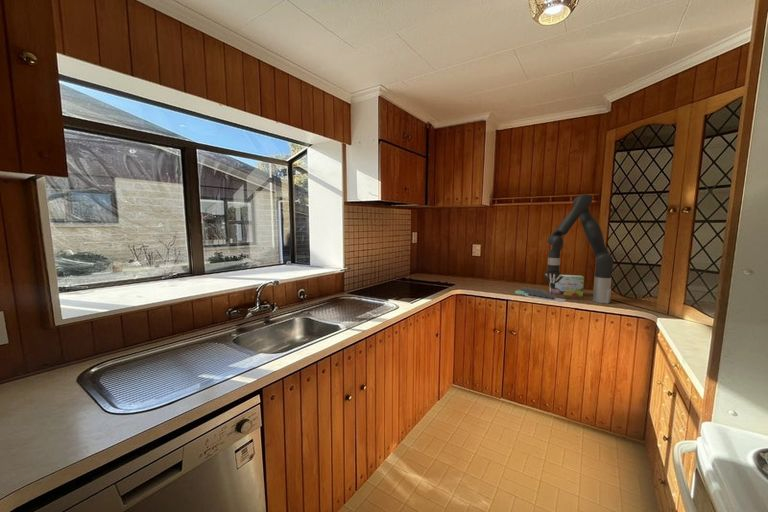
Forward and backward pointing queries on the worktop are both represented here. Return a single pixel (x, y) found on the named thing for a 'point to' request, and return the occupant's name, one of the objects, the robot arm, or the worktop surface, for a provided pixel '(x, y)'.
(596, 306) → the worktop surface
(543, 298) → the mat
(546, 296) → the domino
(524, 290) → the domino
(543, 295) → the domino
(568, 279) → the snack box
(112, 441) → the worktop surface
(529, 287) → the domino
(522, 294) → the domino
